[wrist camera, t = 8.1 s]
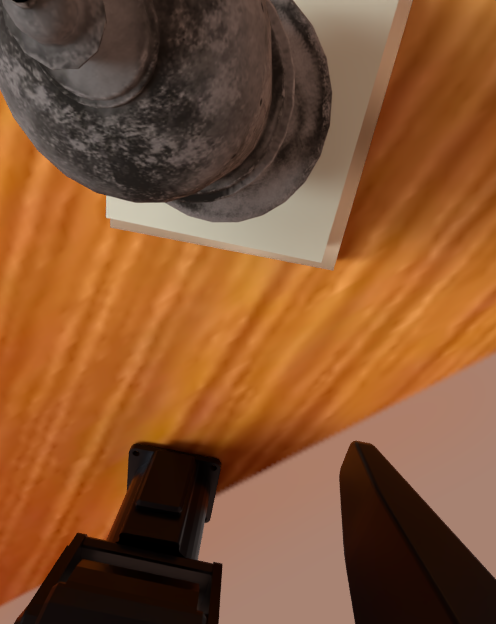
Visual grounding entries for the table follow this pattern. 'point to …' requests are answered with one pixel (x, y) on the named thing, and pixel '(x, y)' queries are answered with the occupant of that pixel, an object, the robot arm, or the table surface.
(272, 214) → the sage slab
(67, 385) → the table surface
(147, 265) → the table surface
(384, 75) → the birch slab
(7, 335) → the table surface
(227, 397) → the table surface
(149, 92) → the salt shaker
